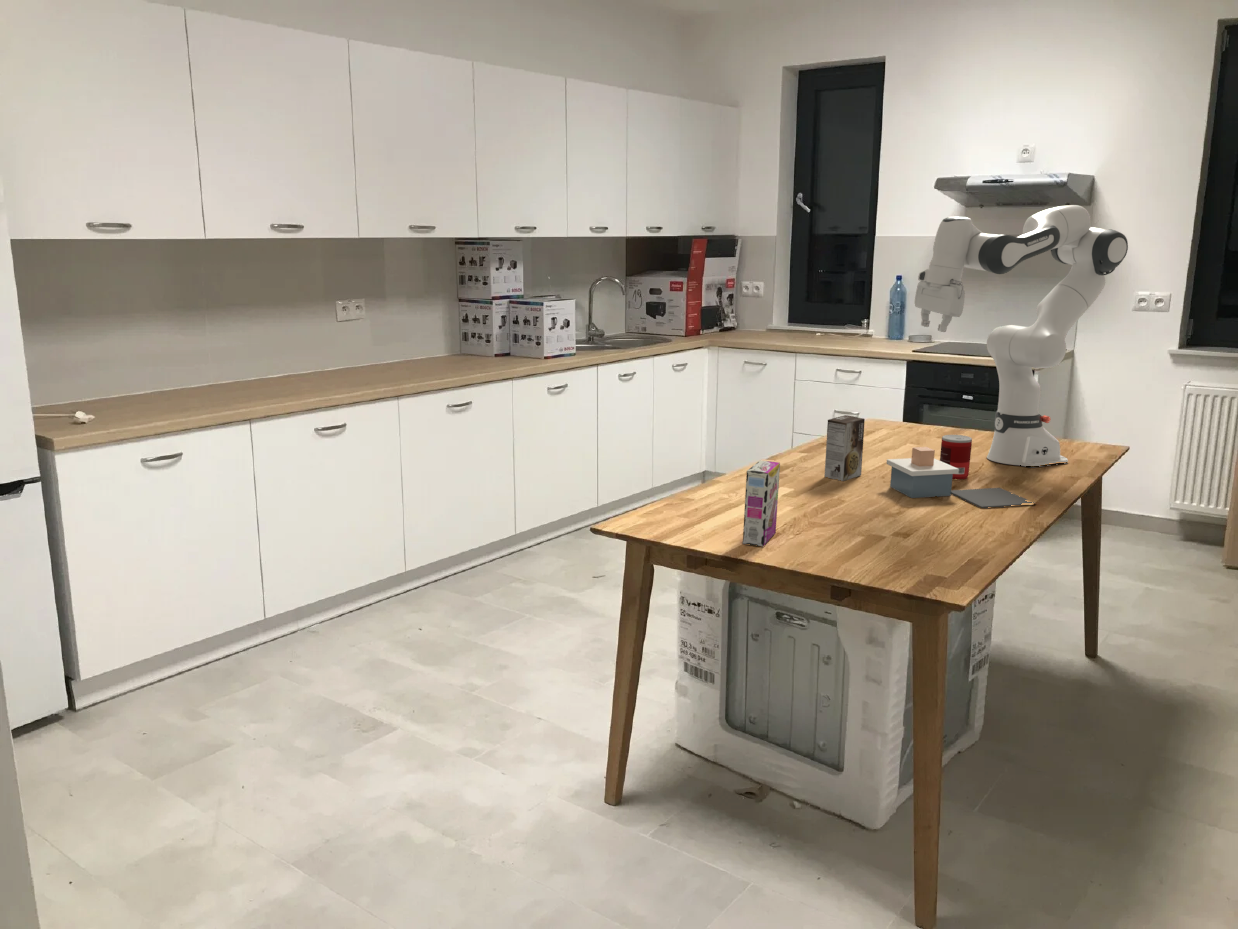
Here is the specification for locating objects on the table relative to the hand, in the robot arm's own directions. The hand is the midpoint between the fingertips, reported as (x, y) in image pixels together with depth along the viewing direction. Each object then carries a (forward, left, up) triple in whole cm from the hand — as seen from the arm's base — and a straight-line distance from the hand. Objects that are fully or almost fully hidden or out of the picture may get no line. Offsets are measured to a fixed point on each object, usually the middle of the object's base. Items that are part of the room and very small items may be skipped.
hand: (933, 329), depth 262 cm
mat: (-2, +31, -39) cm, 50 cm away
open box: (+12, +21, -39) cm, 46 cm away
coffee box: (+25, +3, -40) cm, 47 cm away
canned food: (-5, +9, -40) cm, 41 cm away
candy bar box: (+67, +50, -40) cm, 93 cm away
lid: (+12, +21, -33) cm, 41 cm away
